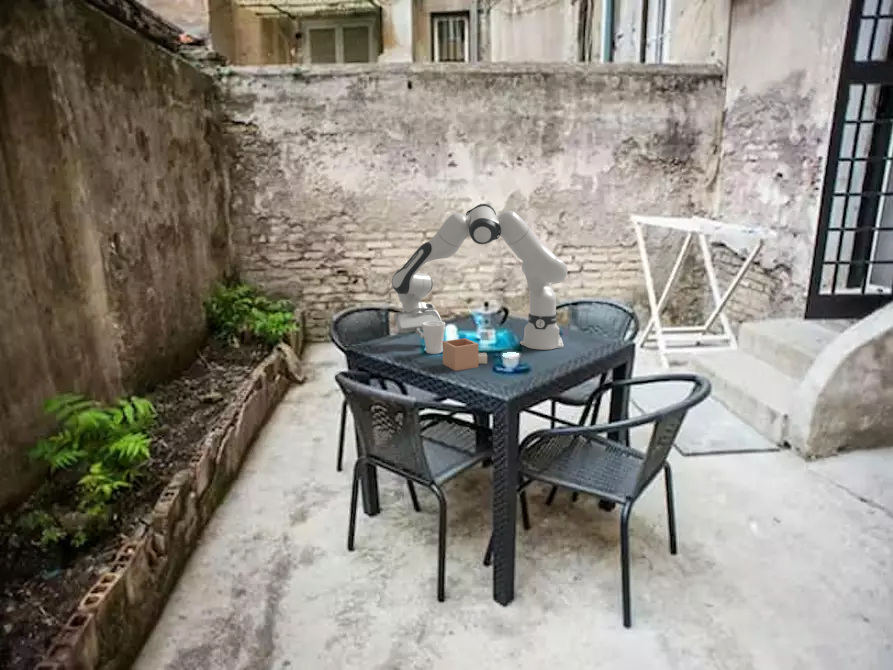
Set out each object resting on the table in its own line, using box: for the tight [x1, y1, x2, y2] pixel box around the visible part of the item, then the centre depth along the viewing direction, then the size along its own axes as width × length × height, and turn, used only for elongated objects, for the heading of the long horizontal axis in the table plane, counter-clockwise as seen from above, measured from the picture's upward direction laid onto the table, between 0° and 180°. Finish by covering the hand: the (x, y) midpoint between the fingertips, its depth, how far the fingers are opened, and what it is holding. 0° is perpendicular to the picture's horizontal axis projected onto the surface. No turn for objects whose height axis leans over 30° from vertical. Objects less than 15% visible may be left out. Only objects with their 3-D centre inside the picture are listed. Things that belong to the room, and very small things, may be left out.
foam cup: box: [422, 320, 446, 355], centre depth 246 cm, size 10×9×13 cm
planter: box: [442, 337, 479, 372], centre depth 227 cm, size 10×10×10 cm
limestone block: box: [478, 352, 488, 365], centre depth 232 cm, size 5×5×4 cm
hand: (424, 337), depth 253 cm, fingers closed
